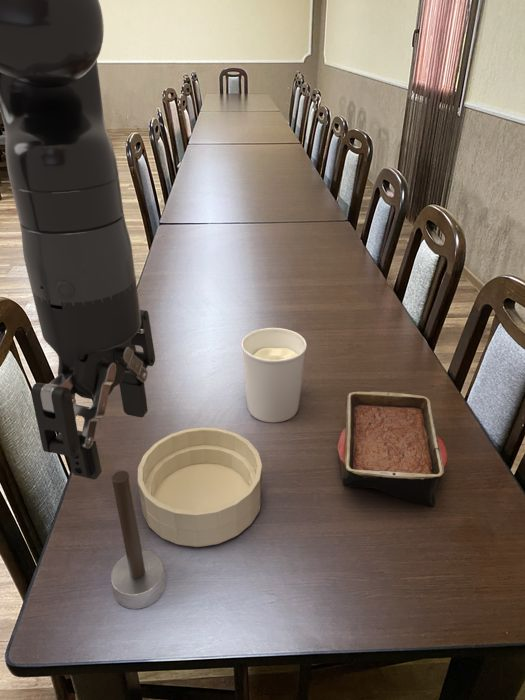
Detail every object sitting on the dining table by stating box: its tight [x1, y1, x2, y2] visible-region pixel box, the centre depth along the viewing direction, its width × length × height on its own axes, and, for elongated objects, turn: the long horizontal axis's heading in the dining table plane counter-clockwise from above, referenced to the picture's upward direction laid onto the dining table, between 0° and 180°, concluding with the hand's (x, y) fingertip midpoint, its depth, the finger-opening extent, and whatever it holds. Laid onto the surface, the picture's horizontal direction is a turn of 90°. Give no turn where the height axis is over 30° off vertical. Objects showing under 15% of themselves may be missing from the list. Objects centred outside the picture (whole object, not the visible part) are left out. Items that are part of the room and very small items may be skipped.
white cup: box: [240, 327, 308, 424], centre depth 84 cm, size 10×10×12 cm
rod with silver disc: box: [110, 470, 167, 610], centre depth 55 cm, size 6×6×16 cm
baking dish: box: [336, 390, 448, 508], centre depth 73 cm, size 14×18×10 cm
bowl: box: [137, 426, 263, 548], centre depth 68 cm, size 15×15×6 cm
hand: (114, 442), depth 49 cm, fingers open, 8 cm apart
